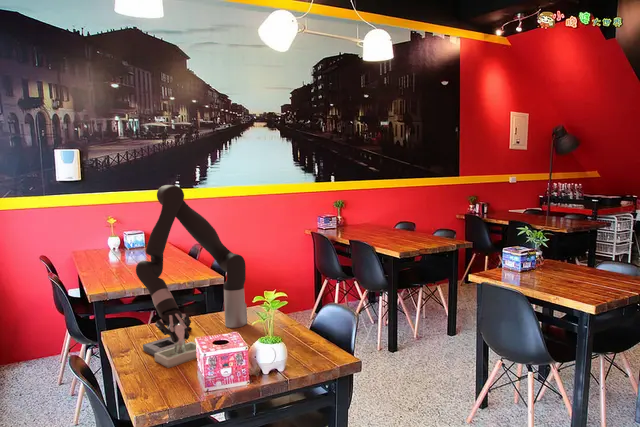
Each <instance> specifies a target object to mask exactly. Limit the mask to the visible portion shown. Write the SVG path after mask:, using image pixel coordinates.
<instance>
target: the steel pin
mask: <svg viewBox="0 0 640 427" xmlns="http://www.w3.org/2000/svg"><path fill="white" fill-rule="evenodd" d="M174 332H175V333H176V336H177V338H178V342H177V343H175V342H174V348H175V353H176V354H181V353H184V352H186V348H185V343H186V339H185V328H184V325H183V324H180V323H179V324H176V325H175V326H174Z"/></svg>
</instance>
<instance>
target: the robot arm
mask: <svg viewBox="0 0 640 427" xmlns="http://www.w3.org/2000/svg"><path fill="white" fill-rule="evenodd" d="M156 191H157V192H156V199H157V200H158V202H159V204H160V205H161V210H160V213H159V214H160V215H159V217H158V219H157V221H156V223H155V224H154V227H153V229H152V230H151V233H150V234H149V239H148V241H147V244H146V247H145V253H146V255H148V256H150V261H149V260H142V261H138V263H137V265H136V266H135V274H136V276H137V278H138V279H139V281H140V282H141V284H143V286H144V287H145V288H146V289H147V290H148V293H149V295H150V297H151V299H152V303H153V305H154V307H155V309H156V310H155V311H157V312H156V313H157V314H158V317H160V319H157V321H156V322H155V327H156V328H157V329H158V331H160V332H161V333H162V334H163V335H164V336H167V335H168V336H169V337H171V339H172V341H173V342H175V343H177V342H178V338H177V336H176V333H175V332H174V329H173V326H175V325H176V324H179V323H180V324H183V325H184V328H185V341H187V340H189V339H190V336H191V335H190V331H188V330H187V329H188V327H191V323H190V320H191V319H190V313H189V312H185V313H182V312H181V311H180V310H179V306H178V304H177V302H176V300H175V298H174V296H173V294H172V293H171V291H170V290H169V287H168V285H167V283H166V281H165V280H164V279H163V278H161V277H160V276H161V275H162V273H163V270H164V269H163V268H164V252H165V249H166V245H167V242H168V239H169V235H170V232H171V230H172V227H173V224H174V222H175V220H176V219H177V220H178V221H179V222H180V224H181V225H182V226H183V228H184V229H185V230H186V231H187V233H189V234H190V236H191V237H192V238H193V239H194V240H195V241H196V242H197V243H198V244H199V245H200V246H201V247H202V248H203V249H204V250H205V251H206V252H207V253H208V254H209V255H210V256H211V257H212V258H213V259H214V261H215V262H216V263H217V265H218V266H219V268H220V269H221V270H222V271H224V272H225V273H226V281H224V282H223V300H224V302H223V303H224V304H223V305H224V325H225V326H224V327H226V328H229V329H230V328H231V329H234V328H235V329H237V328H241V327H244V326H245V325H247V324H248V310H247V309H248V308H247V305H248V304H247V303H246V300H245V282H246V277H247V276H246V274H247V273H246V270H247V269H246V267H247V266H246V262H245V261H246V260H245V259H244V257H243V256H242V255H241V254H238V253H234V252H232V251H231V250H230V249H228V247H226V246H225V244H223V243H222V241H221V239H220V237H219V234H218V233H217V231H216V229H215V228H214V226H212V224H211V223H210V222H209V221H208V219H206V218H205V217H204V216H202V215H201V214H200V213H199V212H197V211H196V210H195V209H193V208H192V207H190V206H189V205H188V204H187V202H186V201H185V193H184V191H183V189H182V188H181V187H180V186H178V185H173V184H165V185H161V187H159V188H158V190H156ZM181 318H182V319H183V320H184V322H183V320H182V319H181ZM163 323H164V324H166V325H167V326H165V325H164V324H163ZM184 323H185V324H184Z"/></svg>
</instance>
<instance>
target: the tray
mask: <svg viewBox="0 0 640 427" xmlns="http://www.w3.org/2000/svg"><path fill="white" fill-rule="evenodd" d="M185 343H186V344H185V348H186V352H184V353H181V354H176V353H175V348H174V347H173V348H170V349H167V350H163V351H160V352H157V353H154V354H155V357H154V361H155V362H156V363H158V364H160V365H162V366H164V367H165V368H167V369H170V368H173V367H177V366H178V365H181V364H184V363H188V362H190V361H192V360H196V359H197V358H196V342H194V341H188V342H185Z"/></svg>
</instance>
